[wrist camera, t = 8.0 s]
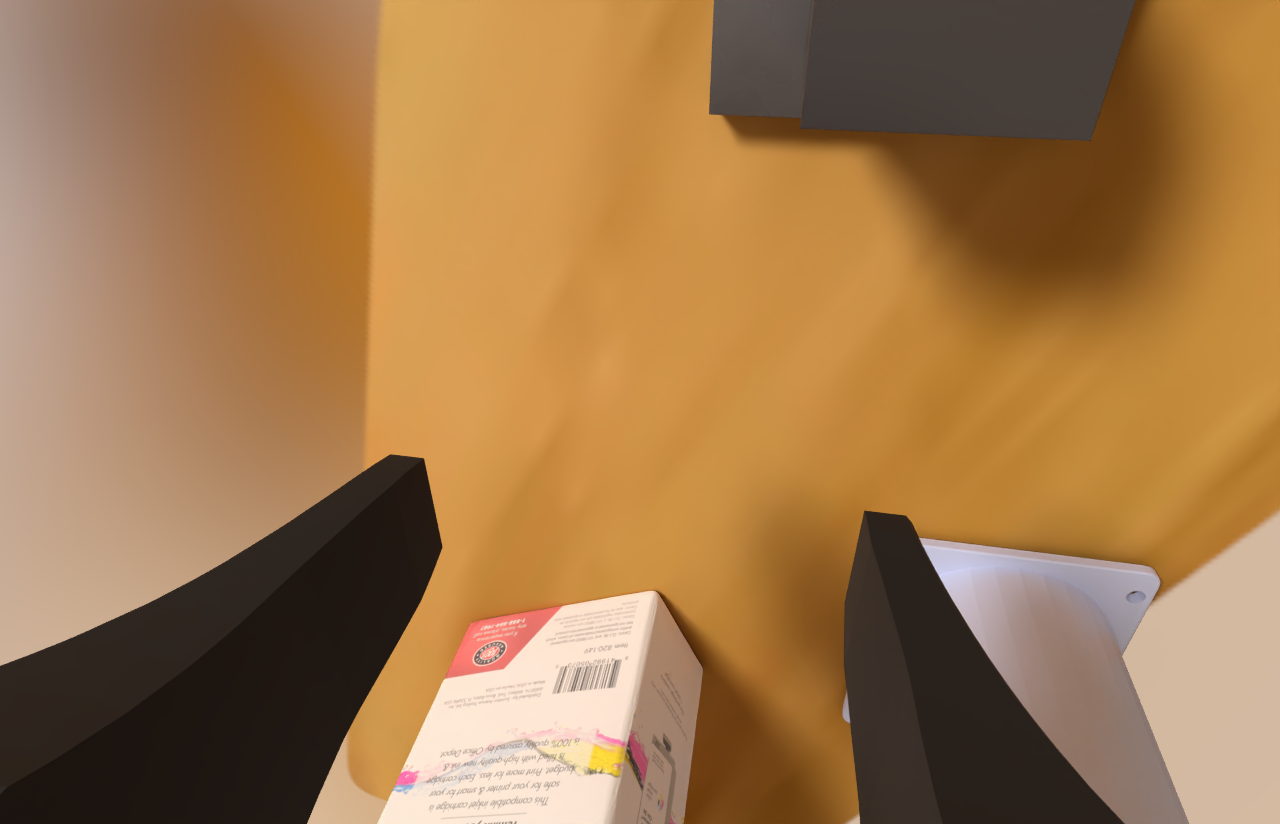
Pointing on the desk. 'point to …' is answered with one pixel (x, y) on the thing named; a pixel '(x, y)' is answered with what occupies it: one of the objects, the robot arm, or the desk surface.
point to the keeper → (758, 57)
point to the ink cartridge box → (559, 721)
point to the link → (961, 66)
